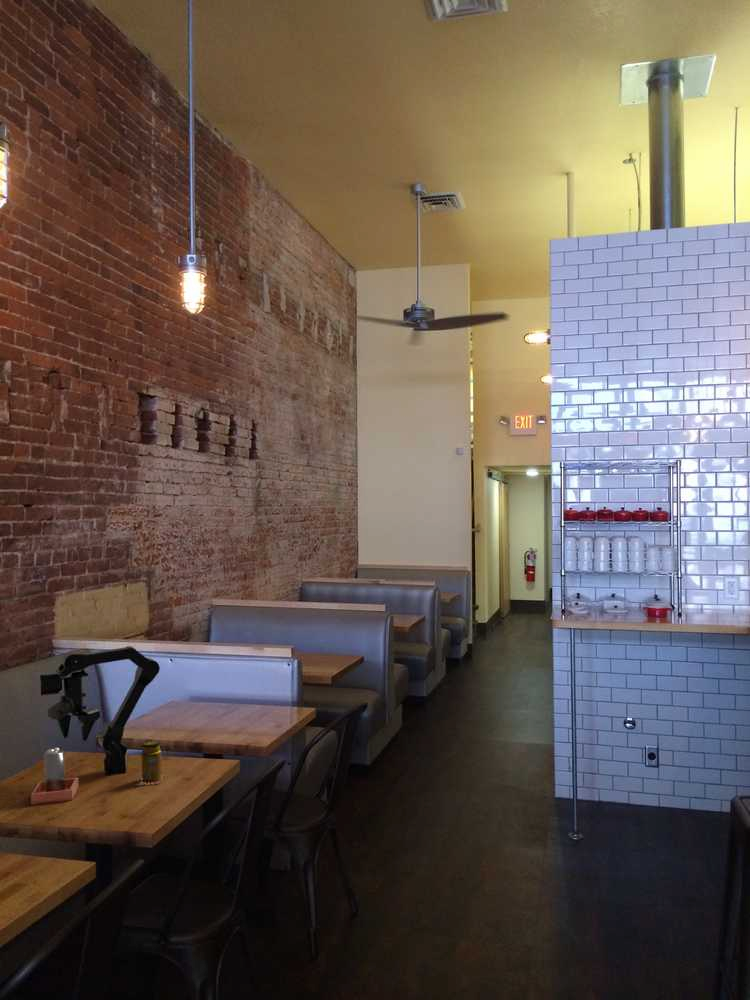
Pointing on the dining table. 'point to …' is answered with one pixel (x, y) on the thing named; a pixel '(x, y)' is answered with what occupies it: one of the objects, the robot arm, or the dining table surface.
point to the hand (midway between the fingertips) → (75, 739)
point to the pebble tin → (54, 770)
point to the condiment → (151, 762)
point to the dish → (54, 792)
